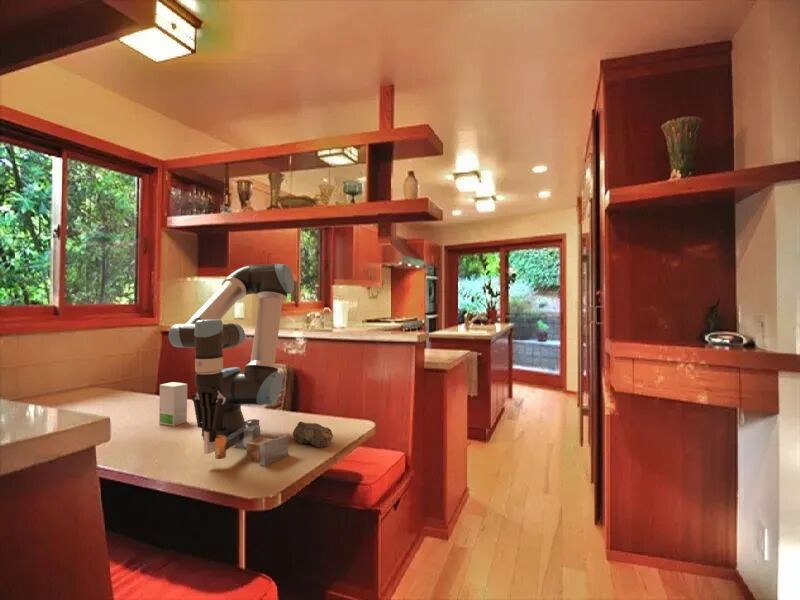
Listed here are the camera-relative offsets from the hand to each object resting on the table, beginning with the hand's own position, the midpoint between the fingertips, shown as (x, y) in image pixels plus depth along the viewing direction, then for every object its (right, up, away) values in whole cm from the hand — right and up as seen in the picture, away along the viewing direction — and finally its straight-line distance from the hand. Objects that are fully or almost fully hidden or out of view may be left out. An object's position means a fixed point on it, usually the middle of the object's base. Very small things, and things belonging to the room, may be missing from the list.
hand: (209, 452), depth 127 cm
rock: (+26, -4, +20) cm, 33 cm away
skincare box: (-34, -4, +44) cm, 56 cm away
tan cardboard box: (+13, -4, +7) cm, 15 cm away
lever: (+7, -1, +8) cm, 11 cm away
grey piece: (+11, -4, +11) cm, 16 cm away
